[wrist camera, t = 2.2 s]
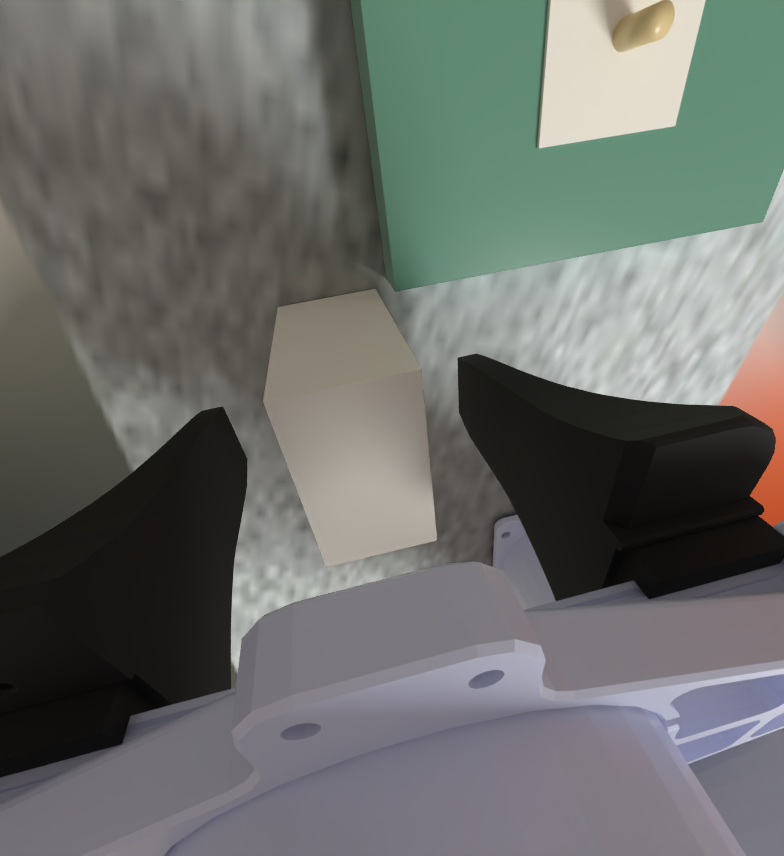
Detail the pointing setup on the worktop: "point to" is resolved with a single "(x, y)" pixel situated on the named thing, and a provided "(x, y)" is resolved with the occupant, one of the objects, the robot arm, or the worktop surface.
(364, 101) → the circuit board
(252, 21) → the worktop surface
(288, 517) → the worktop surface
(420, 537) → the block
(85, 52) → the worktop surface
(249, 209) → the worktop surface
